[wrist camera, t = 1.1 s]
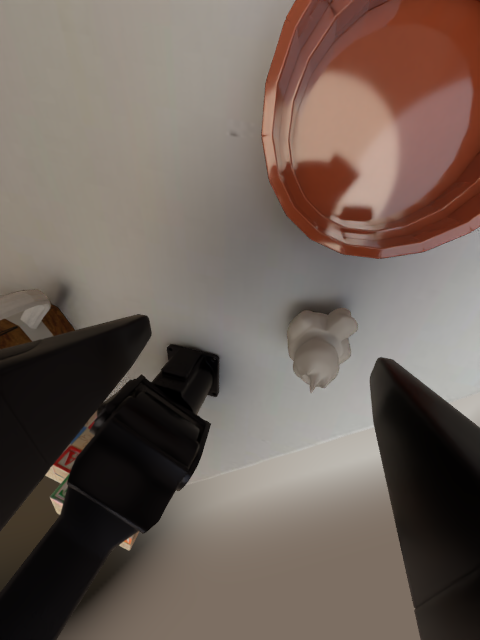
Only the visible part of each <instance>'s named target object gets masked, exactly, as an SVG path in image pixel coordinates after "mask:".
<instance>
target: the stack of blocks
mask: <svg viewBox="0 0 480 640" xmlns="http://www.w3.org/2000/svg"><path fill="white" fill-rule="evenodd" d="M96 418H97V411H96V412H95V413H94V414H93V416H92V417H91V418H90V419H89V421H88V422H87V423H86V424H85V426H84V427H83V428H82V429H81V431H80V432H79V433H78V434H77V436H76V437H75V438H74V439H73V441H72V442H71V443H70V444H69V446H68V447H67V448H66V449H65V451H64V452H63V453H62V454H61V456H60V457H59V458H58V459H57V461H56V462H55V463H54V464H53V466H52V467H50V470H49V471H48V472H47V473H46V476H48V477H49V478H51V479H53V480H55V481H58V482H59V483H61V484H60V485H59V487H58V488H57V489H56V490H55V492H53V494H52V495H51V496H50V499H51V501H52V503H53V505H54V507H55V510H56V512H57V513H58V514H61V510H62V506H63V502H64V499H65V495H66V491H67V487H68V485H67V481H68V478H69V475H70V471H71V468H72V466H73V464H74V461H75V459H76V457H77V456H78V455H79V454H80V452H81V451H82V450H83V449H84V448H85V446H86V445H87V444H88V443H89V442H90V440H91V439H92V438H93V437H94V436H95V435H93V434H92V433H90V432H89V430H90V429H91V427H92V425H93V424H94V421H95V419H96ZM138 533H139V531H138V532H137V533H135V534H134V535H132V536H131V537H130V538H128V539H127V540H125V541H124V542H122V543H121V544H120V545H119V546H121V547H123V548H125V549H127V550H130V549H131V547H132V545H133V543H134V541H135V539H136V537H137V535H138Z"/></svg>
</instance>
